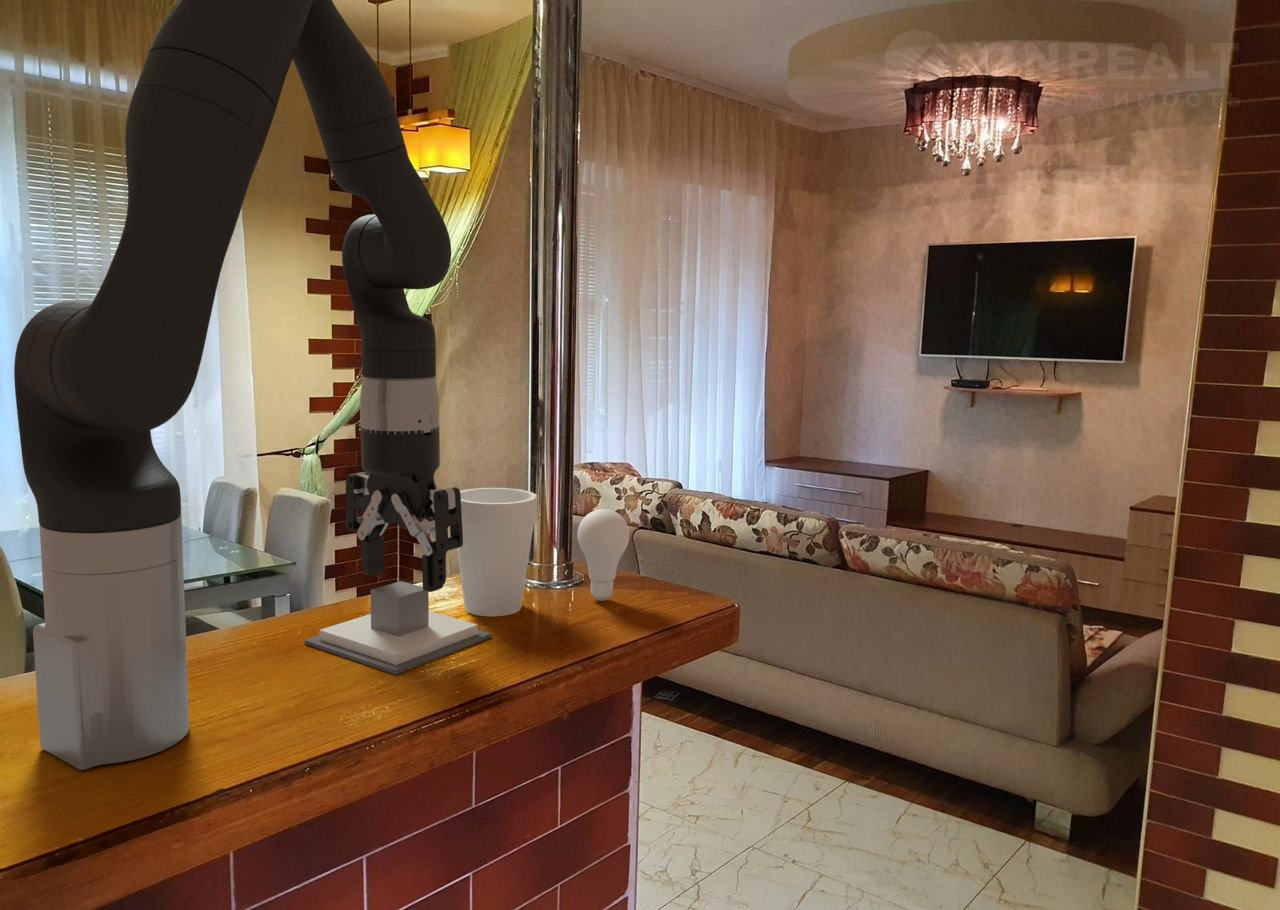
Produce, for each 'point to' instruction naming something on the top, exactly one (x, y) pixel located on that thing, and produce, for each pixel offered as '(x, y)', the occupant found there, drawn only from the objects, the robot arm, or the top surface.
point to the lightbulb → (603, 548)
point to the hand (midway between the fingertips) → (403, 581)
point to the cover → (398, 626)
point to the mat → (402, 666)
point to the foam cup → (495, 548)
